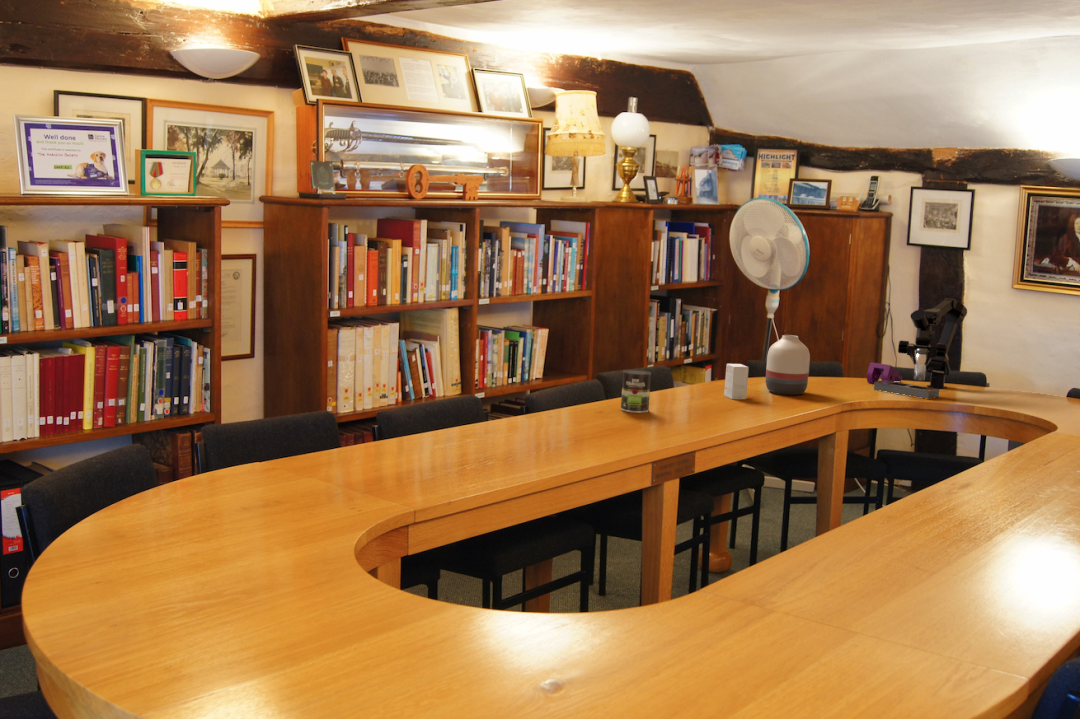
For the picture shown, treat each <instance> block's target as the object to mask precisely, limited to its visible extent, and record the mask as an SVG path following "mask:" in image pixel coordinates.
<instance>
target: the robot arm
mask: <svg viewBox="0 0 1080 719" xmlns="http://www.w3.org/2000/svg"><path fill="white" fill-rule="evenodd" d="M967 315H968V309H967V307H966V306H965V305H964V304H962V303H960V302H958V300H957V299H955V298H944V299H943V300H942V301H941V302H940V303H938V304H937V305H936V306H934V307H933V308H928V309H924V308H922V307H921V308H918V309H916V310H914V311H913V312H911V313H910V319H911V321H912V323H913V326H914V327H915V328H916V335H915V343H910V341H909V340H902V339H901V340H899V341H898V348H897V352H898V353H899V354H906V355H907V356H908V357H910V359H911V362H912V363H913V365H915V358H916V348H925V349H928V354H927V361H926V373H927V374H929V373H930V383H929V384H927V385H926V387H930V388H936V389H939V390H941V389H946V388H948V386H947V385H945V379H946V376H950V375H951V371H952V370H951V365H950V363H949V362H950V360H949V359H950V358H949V356H948V352H949V350H950V348H951V344H952V341H953V339H954V336H955V333H956V331H957V327H958V325H960V324H961V323H962V322H964V320H965V317H966V316H967ZM943 316H944V318H945V321H946V322H945V324H944V327H943V330H942V332H941V335H940V338H939V341H938V343H936V346H931V340H934V339H935V335H936V330H932V326H938V324H939V323H940V322H941V321H942V317H943Z"/></svg>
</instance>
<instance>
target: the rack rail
mask: <svg viewBox="0 0 1080 719" xmlns="http://www.w3.org/2000/svg"><path fill="white" fill-rule="evenodd" d="M874 389H875V390H874ZM873 390H874V391H876V390H881V391H880V392H882V391H887V392H886V393H888V392H893V393H899V394H905V395H911V396H916V397H922V398H927V399H929V400H931V399H930V398H933V399H935V398H934V397H938V398H940V389H939V388H934V387H928V386H922V385H917V384H911V383H905V382H894V381H888V380H883V381H882V380H878V381H877V382H874V384H873ZM893 393H892V394H893ZM899 394H898V395H899ZM905 395H904V396H905ZM916 397H915V398H916ZM927 399H926V400H927Z"/></svg>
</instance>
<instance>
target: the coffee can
mask: <svg viewBox="0 0 1080 719" xmlns="http://www.w3.org/2000/svg"><path fill="white" fill-rule="evenodd" d="M651 377H652V372H651V371H647V370H643V369H624V370H622V381H621V382H622V383H621V386H622V387H621V398H620V399H621V400H620V411H622V412H625V413H632V414H645V413H648V412H650V410H649V408H650V392H651V383H652V382H651V381H652V380H651V379H652V378H651Z"/></svg>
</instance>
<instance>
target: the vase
mask: <svg viewBox="0 0 1080 719" xmlns="http://www.w3.org/2000/svg"><path fill="white" fill-rule="evenodd" d="M781 336H782V337H781V338H780V339H778V340H777V341H776V342H774V343H773V344H771V346H770V347H769V349H768V352H767V355H766V356H767V357H766V369H765V370H766V371H765V387H766V389H767V390H768V391H769V392H771V393H773V394H776V395H782V396H799V395H802V394H804V393H805V392H806V390H807V387H808V382H809V375H810V361H811V354H810V351H809V350H810V349H809V348H808V347H807V346H806V345H805V344H804V343H803V342H802V341H801V340H800V339H799V336H798V335H792V334H784V335H783V334H782V335H781Z"/></svg>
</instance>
